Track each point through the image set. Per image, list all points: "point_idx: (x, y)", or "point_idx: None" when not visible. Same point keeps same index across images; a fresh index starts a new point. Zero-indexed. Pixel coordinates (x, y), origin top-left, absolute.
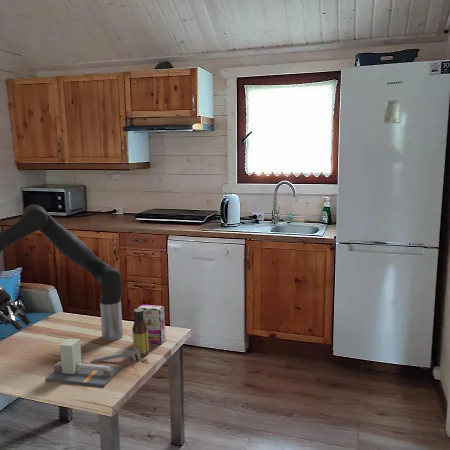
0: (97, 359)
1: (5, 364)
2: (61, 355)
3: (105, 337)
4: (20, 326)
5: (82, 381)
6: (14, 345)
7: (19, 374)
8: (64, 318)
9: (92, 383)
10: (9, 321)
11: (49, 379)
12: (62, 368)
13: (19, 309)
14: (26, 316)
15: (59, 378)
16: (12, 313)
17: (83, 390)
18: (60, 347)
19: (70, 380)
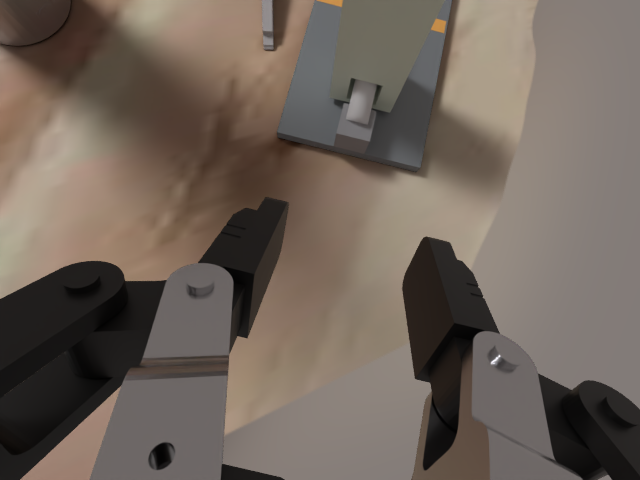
0: (272, 15)
1: (264, 410)
2: (419, 50)
3: (50, 14)
4: (450, 251)
5: (440, 34)
6: (28, 472)
7: (363, 297)
8: None
9: (451, 2)
10: (602, 399)
11: (422, 152)
12: (396, 96)
13: (182, 392)
14: (207, 252)
15: (420, 116)
16: (524, 462)
17: (476, 31)
18: (437, 12)
19: (434, 74)
